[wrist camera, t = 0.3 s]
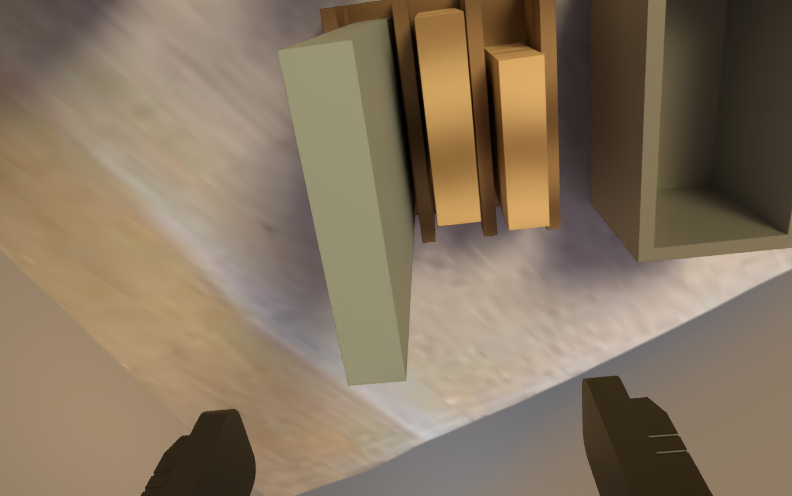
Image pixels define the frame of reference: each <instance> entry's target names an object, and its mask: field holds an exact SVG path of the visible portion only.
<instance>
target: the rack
mask: <svg viewBox="0 0 792 496" xmlns="http://www.w3.org/2000/svg"><path fill="white" fill-rule="evenodd" d="M448 8H456V9H458V10H461V11H463V12H464V21H465V33H466V45H467V57H468V69H469V81H470V94H471V106H472V118H473V130H474V142H475V154H476V166H477V178H478V190H479V202H480V214H481V225H482V229H483V234H484V236H493V235H497V224H496V210H495V206H500V203H499V200H498V198H497V195H496V192H495V189H494V181H493V167H492V153H491V139H490V125H489V111H488V97H487V83H486V69H485V55H484V47H490V46H497V45H504V44H511V43H518V42H520V43H522V44H524V45H526V46H528V47H530V48H532V49H534V50H536V51H538V52H540V53H542V54H544V60H545V92H546V125H547V158H548V190H549V223H550V226H545V227H546V228H547V230H549V229H559V228H561V225H560V180H559V135H558V90H557V45H556V0H380V1H373V2H367V3H360V4H354V5H347V6H338V7H331V8H324V9H320V13H321V19H322V24H323V30H324V34H325V33H327V32H330V31H333V30H336V29H338V28H341V27H344V26H347V25H349V24H352V23H355V22H360V21H367V20H374V19H380V18H387V17H392V25H393V33H394V40H395V48H396V56H397V63H398V71H399V78H400V86H401V94H402V101H403V109H404V117H405V124H406V132H407V140H408V147H409V155H410V163H411V170H412V178H413V186H414V193H415V201H416V204H415V215H419V219H420V227H421V235H422V242H423V243H427V242H435V216H434V213H437V211H436V203H435V194H434V185H433V177H432V168H431V159H430V151H429V142H428V133H427V125H426V116H425V108H424V99H423V90H422V82H421V73H420V64H419V56H418V47H417V38H416V30H415V21H414V19H415V17H416V15H417V13H421V12H428V11H435V10H441V9H448Z"/></svg>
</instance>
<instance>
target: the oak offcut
mask: <svg viewBox="0 0 792 496" xmlns="http://www.w3.org/2000/svg"><path fill="white" fill-rule="evenodd" d="M414 21H415V30H416V38H417V47H418V56H419V64H420V73H421V82H422V90H423V99H424V108H425V116H426V125H427V133H428V142H429V151H430V159H431V168H432V177H433V185H434V194H435V203H436V211H437V220H438V226H445V225H454V224H463V223H472V222H481V214H480V202H479V190H478V178H477V166H476V154H475V142H474V130H473V118H472V106H471V94H470V81H469V69H468V57H467V45H466V33H465V21H464V12H463V11H461V10H458V9H456V8H448V9H441V10H435V11H428V12H421V13H417V15H416V17H415V19H414Z"/></svg>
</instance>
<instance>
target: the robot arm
mask: <svg viewBox="0 0 792 496" xmlns="http://www.w3.org/2000/svg"><path fill="white" fill-rule="evenodd" d="M582 410H583V411H582V417H583V439H584V445H585V450H586V454H587V458H588V461H589V464H590V467H591V470H592V473H593V476H594V479H595V482H596V485H597V488H598V491H599V494H600V496H713V495H712V493H711V492H710V490H709V488H708V486H707V484H706V483H705V481H704V479H703V477H702V475H701V474H700V472H699V470H698V468H697V466H696V465H695V463H694V461H693V459H692V458H691V456H690V454H689V453H687V449H686V447H685V445H684V443H683V441H682V440H681V438H680V437H679V436H678V433H677V431H676V429H675V427H674V425H673V424H672V422H671V420H670V418H669V416H668V414H667V413H666V412H665V411H664V410H662V409H661V408H660V407H659V406H658V405H656V404H655V403H654V402H653V401H651V400H650V399H649V398H648V397H644V398H632V399H630V398H629V396H628V393H627V391H626V389H625V387H624V385H623V383H622V381H621V380H620V378H619V377H618V376H607V377H596V378H585V379H583V381H582ZM255 473H256V465H255V458H254V454H253V451H252V448H251V445H250V442H249V440H248V437H247V434H246V431H245V428H244V425H243V422H242V419H241V417H240V414H239V412H238V411H237V410H236V409H228V410H217V411H206V412H203V413H202V414H201V415H200V417H199V418H198V420H197V422H196V424H195V426H194V428H193V430H192V432H191V434H190V435H186V436H181V437H180V438H179V439H178V440H177V441H176V442H175V443H174V444H173V445H172V446H171V447H170V448H169V449H168V450H167V451H166V452H165V453H164V455H163V456H162V458H161V460H160V462H159V464H158V465H157V467H156V469H155V471H154V476H151V478H150V480H149V482H148V484H147V485H146V487H145V492H143V493H142V495H141V496H250V493H251V491H252V488H253V485H254V481H255Z"/></svg>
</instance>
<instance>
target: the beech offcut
mask: <svg viewBox="0 0 792 496" xmlns="http://www.w3.org/2000/svg"><path fill="white" fill-rule="evenodd" d="M484 55H485V69H486V83H487V97H488V111H489V125H490V139H491V153H492V167H493V181H494V189H495V192H496V195H497V198H498V200H499V203H500V206H501V209H502V212H503V215H504V217H505V220H506V223H507V226H508V229H509V230H517V229H526V228H536V227H545V226H550V223H549V190H548V158H547V125H546V92H545V60H544V54H542V53H540V52H538V51H536V50H534V49H532V48H530V47H528V46H526V45H524V44H522V43H520V42H518V43H511V44H504V45H497V46H490V47H484Z"/></svg>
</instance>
